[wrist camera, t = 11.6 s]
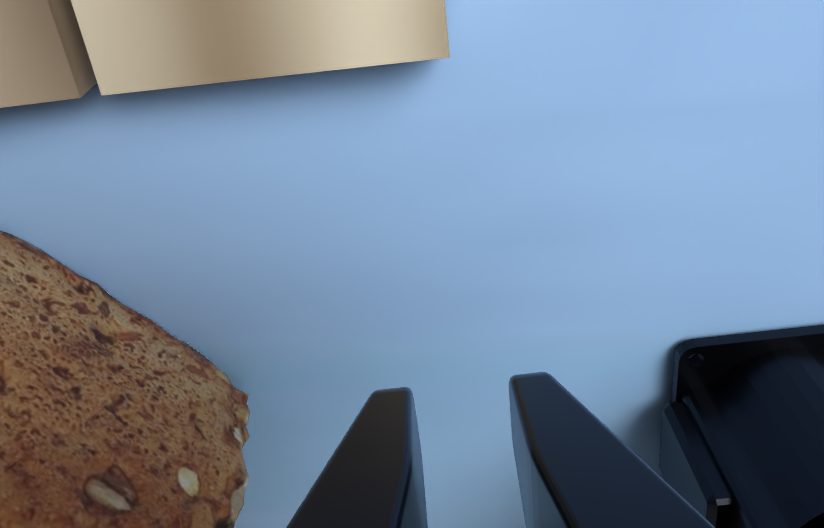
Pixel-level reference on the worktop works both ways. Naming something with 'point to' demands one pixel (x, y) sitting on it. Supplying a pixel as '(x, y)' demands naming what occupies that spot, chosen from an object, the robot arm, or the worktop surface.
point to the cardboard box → (42, 53)
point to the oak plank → (251, 38)
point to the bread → (107, 410)
